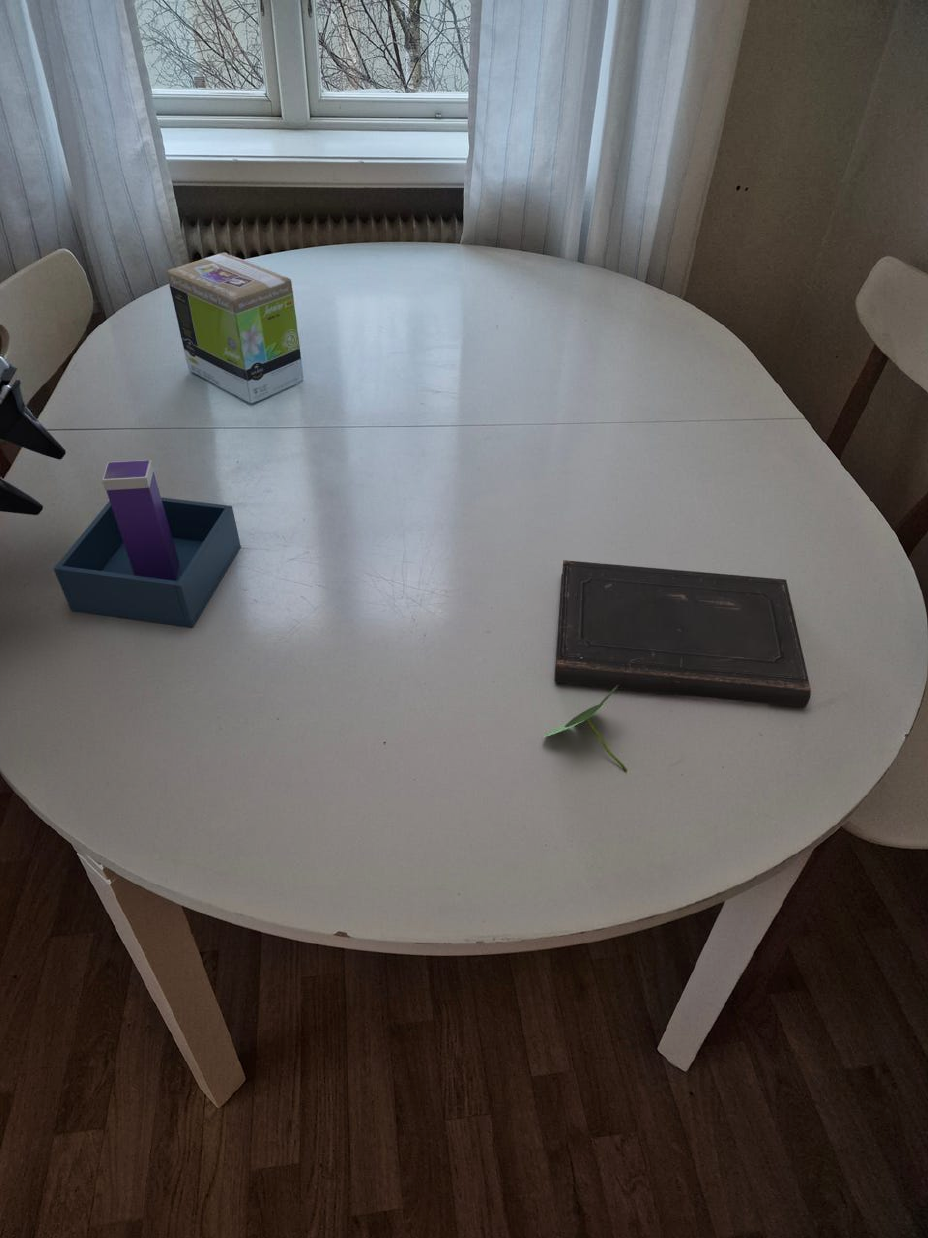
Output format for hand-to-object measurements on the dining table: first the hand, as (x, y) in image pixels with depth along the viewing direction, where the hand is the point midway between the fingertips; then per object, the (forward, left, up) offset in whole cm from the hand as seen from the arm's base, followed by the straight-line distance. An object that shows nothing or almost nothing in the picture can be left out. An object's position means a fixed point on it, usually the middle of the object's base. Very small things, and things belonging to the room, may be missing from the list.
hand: (52, 482), depth 82 cm
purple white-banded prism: (+7, +2, -12) cm, 14 cm away
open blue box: (+7, +2, -13) cm, 14 cm away
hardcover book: (+61, +3, -13) cm, 62 cm away
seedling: (+53, -12, -13) cm, 56 cm away
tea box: (0, +46, -13) cm, 48 cm away
